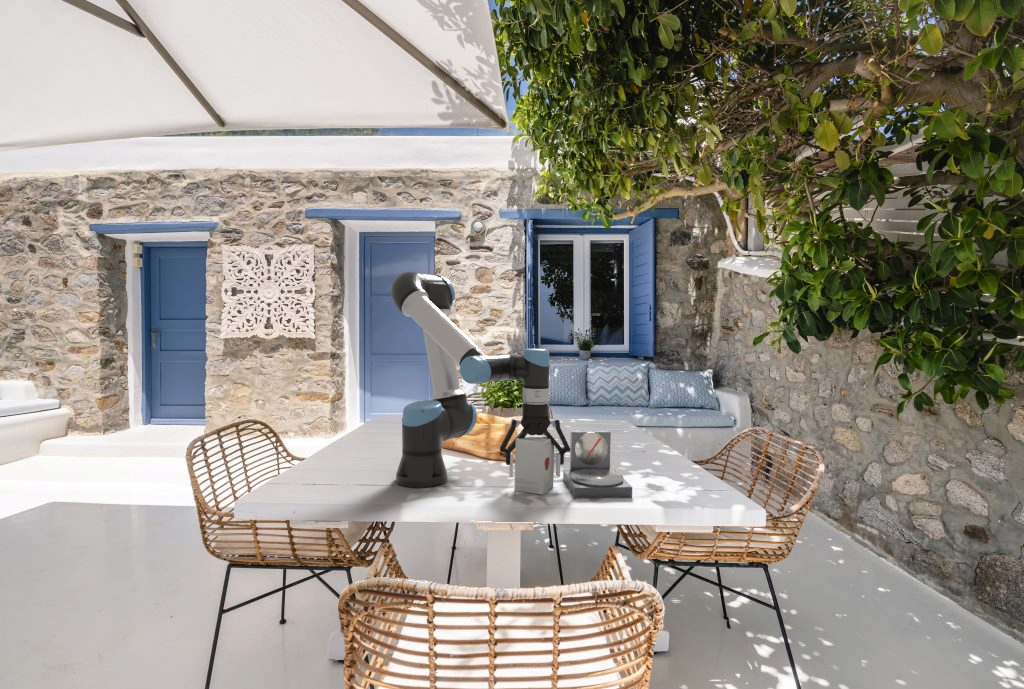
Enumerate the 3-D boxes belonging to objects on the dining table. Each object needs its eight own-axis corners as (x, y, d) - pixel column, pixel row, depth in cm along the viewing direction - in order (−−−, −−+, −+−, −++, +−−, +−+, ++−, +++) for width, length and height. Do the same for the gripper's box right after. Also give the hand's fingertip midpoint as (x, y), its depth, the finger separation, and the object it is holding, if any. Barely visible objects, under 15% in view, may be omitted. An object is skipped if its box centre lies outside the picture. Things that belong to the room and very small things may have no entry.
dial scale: (574, 498, 143) (575, 444, 143) (563, 479, 161) (564, 430, 161) (632, 497, 145) (633, 443, 144) (614, 478, 163) (615, 430, 162)
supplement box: (543, 495, 146) (544, 442, 145) (513, 490, 149) (514, 438, 149) (554, 486, 154) (555, 436, 153) (526, 482, 158) (527, 432, 157)
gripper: (492, 404, 146) (491, 479, 147) (581, 404, 148) (579, 479, 149) (491, 400, 154) (490, 472, 154) (576, 400, 156) (574, 471, 156)
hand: (534, 475), depth 152 cm, fingers open, 13 cm apart
